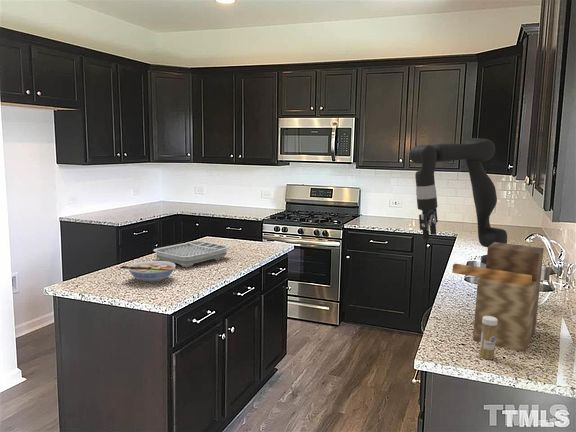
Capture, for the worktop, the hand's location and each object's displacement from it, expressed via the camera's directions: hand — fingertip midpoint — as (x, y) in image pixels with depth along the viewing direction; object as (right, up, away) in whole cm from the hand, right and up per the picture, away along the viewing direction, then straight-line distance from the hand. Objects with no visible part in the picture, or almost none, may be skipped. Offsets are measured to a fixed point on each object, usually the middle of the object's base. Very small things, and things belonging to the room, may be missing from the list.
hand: (430, 237), depth 187 cm
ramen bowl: (-123, -24, +46) cm, 134 cm away
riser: (+24, -36, -13) cm, 45 cm away
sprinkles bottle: (+9, -38, -32) cm, 50 cm away
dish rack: (-112, -18, +89) cm, 145 cm away
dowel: (+16, -14, -18) cm, 28 cm away
